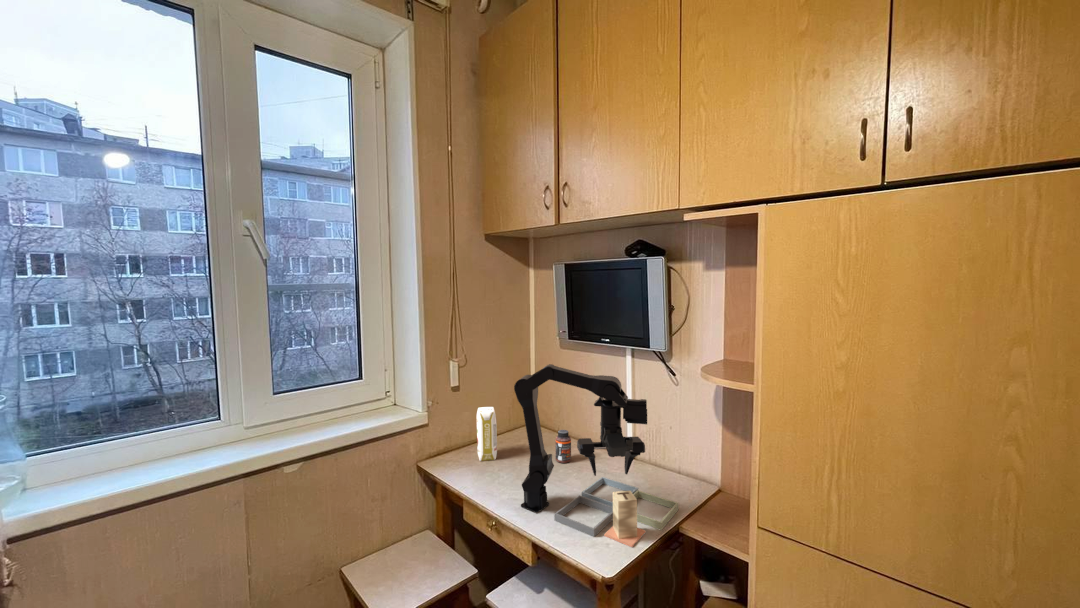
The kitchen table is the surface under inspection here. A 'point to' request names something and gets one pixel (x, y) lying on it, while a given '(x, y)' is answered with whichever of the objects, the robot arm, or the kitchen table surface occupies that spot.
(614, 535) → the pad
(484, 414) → the juice carton
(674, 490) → the kitchen table surface
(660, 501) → the tray olive
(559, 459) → the supplement bottle
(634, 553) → the kitchen table surface
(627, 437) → the robot arm
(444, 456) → the kitchen table surface
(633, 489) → the tray slate
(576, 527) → the tray charcoal
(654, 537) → the kitchen table surface
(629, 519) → the letter block
